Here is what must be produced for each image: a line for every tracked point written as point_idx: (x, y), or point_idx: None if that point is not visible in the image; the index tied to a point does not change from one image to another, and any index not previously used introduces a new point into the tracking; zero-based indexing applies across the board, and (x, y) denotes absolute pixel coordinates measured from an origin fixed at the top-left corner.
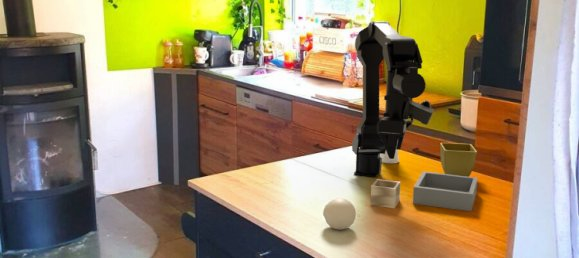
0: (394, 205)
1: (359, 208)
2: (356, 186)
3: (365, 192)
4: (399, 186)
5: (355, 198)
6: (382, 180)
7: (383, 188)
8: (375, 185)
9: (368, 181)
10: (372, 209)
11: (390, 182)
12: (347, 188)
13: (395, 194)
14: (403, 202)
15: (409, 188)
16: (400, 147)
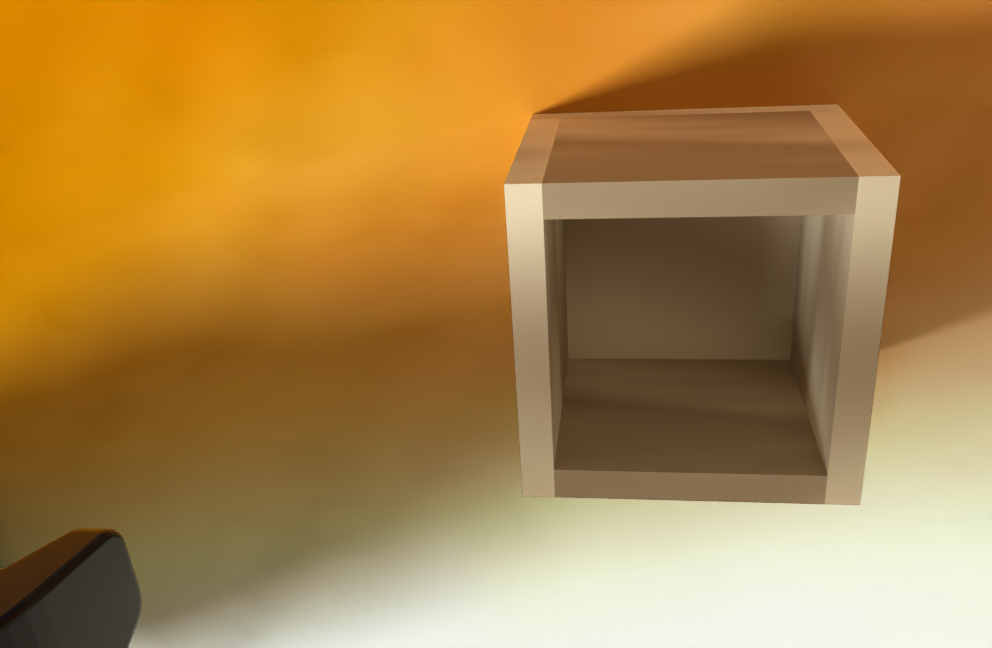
0: (844, 115)
1: (963, 445)
2: (320, 591)
3: (447, 490)
4: (574, 167)
5: (668, 535)
6: (550, 423)
7: (876, 344)
8: (738, 460)
9: (116, 527)
10: (957, 323)
11: (550, 313)
12: (418, 645)
13: (868, 151)
14: (584, 50)
15: (58, 99)
16: (91, 560)
